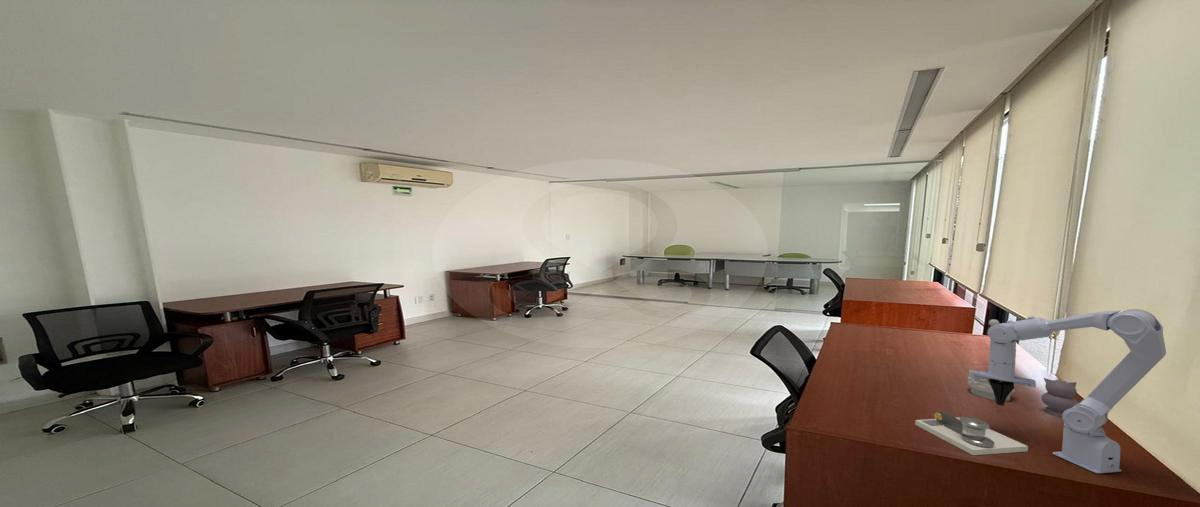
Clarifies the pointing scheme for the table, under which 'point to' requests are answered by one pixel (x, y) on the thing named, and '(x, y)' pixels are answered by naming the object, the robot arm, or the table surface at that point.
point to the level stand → (954, 437)
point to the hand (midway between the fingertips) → (999, 404)
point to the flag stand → (985, 381)
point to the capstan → (967, 428)
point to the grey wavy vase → (1059, 396)
